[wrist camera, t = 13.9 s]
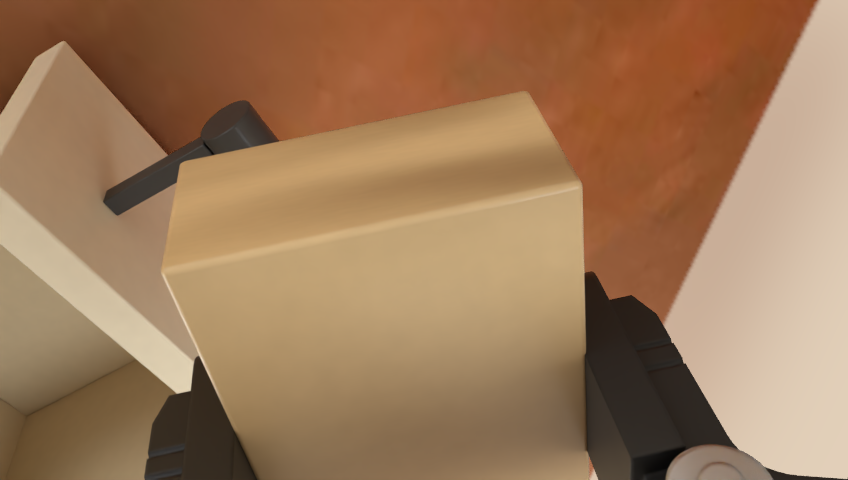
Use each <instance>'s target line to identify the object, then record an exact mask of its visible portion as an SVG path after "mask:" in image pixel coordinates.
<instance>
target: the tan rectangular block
mask: <svg viewBox="0 0 848 480" xmlns="http://www.w3.org/2000/svg"><path fill="white" fill-rule="evenodd" d="M161 275H162V277H163V279H164V282H165V284H166V286H167V288H168V290H169V292H170V294H171V297H172V299H173V301H174V303H175V305H176V307H177V309H178V312H179V314H180V316H181V318H182V320H183V322H184V324H185V327H186V329H187V331H188V333H189V335H190V337H191V339H192V342H193V344H194V346H195V348H196V350H197V352H198V354H199V356H200V359H201V361H202V363H203V365H204V367H205V369H206V371H207V374H208V376H209V378H210V380H211V382H212V384H213V386H214V389H215V391H216V393H217V395H218V397H219V399H220V401H221V404H222V406H223V408H224V410H225V412H226V414H227V416H228V419H229V421H230V423H231V425H232V427H233V429H234V431H235V433H236V435H237V437H238V440H239V442H240V444H241V446H242V448H243V450H244V452H245V455H246V457H247V459H248V461H249V463H250V465H251V467H252V469H253V472H254V474H255V476H256V478H257V480H589V454H588V452H587V421H586V383H585V354H586V318H585V276H584V234H583V192H582V183H581V181H580V179H579V178H578V176H577V174H576V173H575V171H574V169H573V167H572V166H571V164H570V162H569V161H568V159H567V157H566V155H565V154H564V152H563V150H562V149H561V147H560V145H559V144H558V142H557V140H556V138H555V137H554V135H553V133H552V132H551V130H550V128H549V126H548V125H547V123H546V121H545V120H544V118H543V116H542V115H541V113H540V111H539V109H538V108H537V106H536V104H535V103H534V101H533V99H532V98H531V96H530V94H529V92H526V91H521V92H516V93H511V94H506V95H501V96H497V97H492V98H487V99H482V100H477V101H472V102H468V103H463V104H458V105H453V106H448V107H443V108H439V109H434V110H429V111H424V112H419V113H414V114H410V115H405V116H400V117H395V118H390V119H386V120H381V121H376V122H371V123H366V124H361V125H357V126H352V127H347V128H342V129H337V130H332V131H328V132H323V133H318V134H313V135H308V136H303V137H299V138H294V139H289V140H284V141H279V142H275V143H270V144H265V145H260V146H255V147H250V148H246V149H241V150H236V151H231V152H226V153H221V154H217V155H212V156H207V157H202V158H197V159H192V160H188V161H184V162H182V163H181V164H180V167H179V172H178V178H177V183H176V189H175V195H174V200H173V206H172V211H171V217H170V222H169V228H168V233H167V239H166V244H165V250H164V255H163V261H162V266H161Z"/></svg>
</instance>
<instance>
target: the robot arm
mask: <svg viewBox="0 0 848 480" xmlns="http://www.w3.org/2000/svg"><path fill="white" fill-rule="evenodd" d="M584 276H585V318H586V354H585V383H586V421H587V452H588V454H589V457H590V459H591V462H592V464H593V467H594V469H595V472H596V474H597V477H598V480H848V479H837V478H822V477H809V476H797V475H789V474H785V473H781V472H777V471H774V470H771V469H768V468H766V467H764V466H763V465H762V464H761V463H760V462H758V461H757V460H756V459H754V458H753V457H752V456H750V455H748V454H747V453H745V452H743V451H740V450H739V449H738V448H737V447H736V446H735V445H734V444H733V443H732V441H731V440H730V439H729V437H728V436H727V434H726V432H725V430H724V429H723V427H722V425H721V424H720V422H719V420H718V419H717V417H716V415H715V413H714V412H713V410H712V408H711V406H710V405H709V403H708V401H707V400H706V398H705V396H704V394H703V393H702V391H701V389H700V388H699V386H698V384H697V382H696V381H695V379H694V377H693V376H692V374H691V372H690V370H689V369H688V367H687V365H686V364H684V363H683V360H682V357H681V355H680V353H679V352H678V350H677V348H676V347H675V345H674V343H672V342H671V338H670V336H669V335H668V333H667V331H666V329H665V328H664V326H663V324H662V323H661V321H660V319H659V317H658V316H657V314H656V313H655V312H653V311H652V310H651V309H649V308H648V307H647V306H645V305H644V304H643V303H641V302H640V301H639V300H637V299H636V298H635V297H633V296H632V295H630V296H626V297H621V298H617V299H612V300H609V299H608V297H607V295H606V293H605V291H604V289H603V287H602V285H601V283H600V282H599V280H598V278H597V276H596V275H595V273H594V272H592V271H591V272H586V273H584ZM148 456H149V458H148V459H147V461H146V467H145V474H144V478H145V480H257V478H256V476H255V474H254V472H253V469H252V467H251V465H250V463H249V461H248V459H247V457H246V455H245V452H244V450H243V448H242V446H241V444H240V442H239V440H238V437H237V435H236V433H235V431H234V429H233V427H232V425H231V423H230V421H229V419H228V416H227V414H226V412H225V410H224V408H223V406H222V404H221V401H220V399H219V397H218V395H217V393H216V391H215V389H214V386H213V384H212V382H211V380H210V378H209V376H208V374H207V371H206V369H205V367H204V365H203V363H202V361H201V359H200V356H197V357H196V358H195V360H194V365H193V374H192V383H191V391H188V392H183V393H178V394H174V395H169V396H168V398H167V400H166V402H165V403H164V405H163V407H162V408H161V410H160V412H159V413H158V415H157V417H156V418H155V420H154V422H153V423H152V428H151V435H150V441H149V448H148Z"/></svg>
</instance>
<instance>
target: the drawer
mask: <svg viewBox="0 0 848 480" xmlns="http://www.w3.org/2000/svg"><path fill="white" fill-rule="evenodd" d="M275 142H279V140H278V139H277V138H276V137H275V135H274V134H273V133H272V131H271V130H270V129H269V127H268V126H267V125H266V124H265V122H264V121H263V120H262V118H261V117H260V116H259V115H258V113H257V112H256V111H255V109H254V108H253V107H252V105H251V104H250V103H249V102H247V101H245V100H242V101H237V102H234V103H232V104H230V105H228V106H226V107H224V108H223V109H221V110H220V111H218V112H217V113H216V114H215V115H214V116H212V117H211V118H210V119H209V121H208V122H207V123H206V124H205V125H204V127H203V129H202V131H201V137H200V138H198V139H196V140H194V141H193V142H191V143H189V144H187V145H186V146H184V147H182V148H180V149H179V150H177V151H175V152H173V153H172V154H170V155H167V154H166V153H165V152H164V151H163V149H162V148H161V147H160V146H159V145H158V144H157V143H156V142H155V141H154V139H153V138H152V137H151V136H150V135H149V134H148V133H147V132H146V131H145V129H144V128H143V127H142V126H141V125H140V124H139V123H138V122H137V120H136V119H135V118H134V117H133V116H132V115H131V114H130V113H129V112H128V110H127V109H126V108H125V107H124V106H123V105H122V104H121V103H120V102H119V100H118V99H117V98H116V97H115V96H114V95H113V94H112V93H111V92H110V90H109V89H108V88H107V87H106V86H105V85H104V84H103V83H102V82H101V80H100V79H99V78H98V77H97V76H96V75H95V74H94V73H93V72H92V70H91V69H90V68H89V67H88V66H87V65H86V64H85V63H84V62H83V60H82V59H81V58H80V57H79V56H78V55H77V54H76V53H75V52H74V50H73V49H72V48H71V47H70V46H69V45H68V44H67V43H66V42H65V41H61V42H60V43H58V44H57V45H55V46H53V47H52V48H50V49H49V50H47V51H45V52H44V53H42V54H41V55H39V56H37V57H36V58H35V59H34V61H33V63H32V64H31V66H30V67H29V69H28V71H27V72H26V74H25V76H24V77H23V79H22V81H21V82H20V84H19V85H18V87H17V89H16V90H15V92H14V94H13V95H12V97H11V99H10V100H9V102H8V103H7V105H6V107H5V108H4V110H3V112H2V113H1V114H0V480H145V478H144V474H145V467H146V461H147V459H148V458H149V456H148V448H149V441H150V435H151V428H152V423H153V422H154V420H155V418H156V417H157V415H158V413H159V412H160V410H161V408H162V407H163V405H164V403H165V402H166V400H167V398H168V396H169V395H174V394H178V393H183V392H188V391H191V383H192V374H193V365H194V360H195V358H196V357H197V356H199V354H198V352H197V350H196V348H195V346H194V344H193V342H192V339H191V337H190V335H189V333H188V331H187V329H186V327H185V324H184V322H183V320H182V318H181V316H180V314H179V312H178V309H177V307H176V305H175V303H174V301H173V299H172V297H171V294H170V292H169V290H168V288H167V286H166V284H165V282H164V279H163V277H162V275H161V266H162V261H163V255H164V250H165V244H166V239H167V233H168V228H169V222H170V217H171V211H172V206H173V200H174V195H175V189H176V183H177V178H178V172H179V167H180V164H181V163H182V162H184V161H188V160H192V159H197V158H202V157H207V156H212V155H217V154H221V153H226V152H231V151H236V150H241V149H246V148H250V147H255V146H260V145H265V144H270V143H275Z"/></svg>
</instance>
